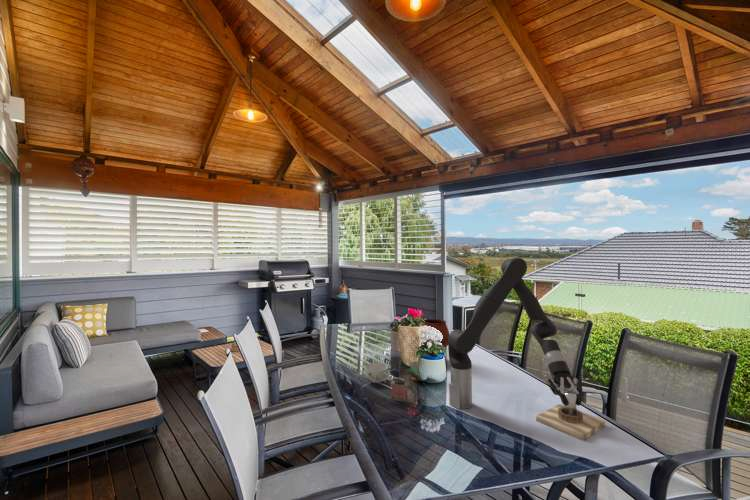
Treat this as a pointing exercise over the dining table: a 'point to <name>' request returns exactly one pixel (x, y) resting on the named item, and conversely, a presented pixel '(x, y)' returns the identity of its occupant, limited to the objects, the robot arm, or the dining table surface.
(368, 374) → the grey spiky lump
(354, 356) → the dining table surface
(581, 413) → the wooden board with ring
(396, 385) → the lighter
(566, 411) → the roller
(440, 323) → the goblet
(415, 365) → the food container
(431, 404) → the dining table surface
